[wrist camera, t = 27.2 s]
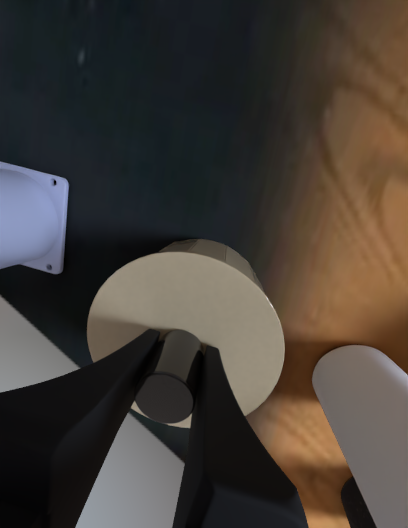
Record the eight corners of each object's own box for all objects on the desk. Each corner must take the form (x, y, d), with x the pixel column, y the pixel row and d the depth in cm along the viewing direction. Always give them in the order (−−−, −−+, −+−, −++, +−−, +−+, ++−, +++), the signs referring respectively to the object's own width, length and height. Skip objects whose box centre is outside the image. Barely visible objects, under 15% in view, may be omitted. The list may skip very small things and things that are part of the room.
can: (332, 330, 18) (524, 563, 6) (409, 358, 17) (756, 653, 6) (297, 389, 19) (394, 658, 8) (366, 416, 19) (569, 728, 8)
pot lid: (106, 402, 15) (59, 476, 11) (88, 243, 12) (15, 262, 8) (270, 422, 14) (287, 514, 10) (291, 252, 11) (328, 279, 7)
